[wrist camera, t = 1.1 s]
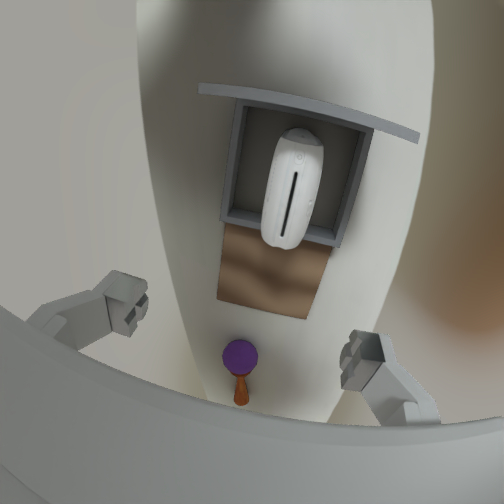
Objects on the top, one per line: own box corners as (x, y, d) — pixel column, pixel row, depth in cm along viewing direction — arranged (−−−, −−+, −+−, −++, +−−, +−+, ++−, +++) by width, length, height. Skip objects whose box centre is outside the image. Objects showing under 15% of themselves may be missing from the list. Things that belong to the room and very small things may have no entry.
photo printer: (284, 123, 30) (274, 132, 19) (321, 131, 29) (332, 145, 19) (268, 204, 35) (251, 254, 24) (302, 212, 35) (300, 265, 24)
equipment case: (243, 91, 28) (198, 82, 15) (369, 119, 27) (420, 133, 15) (225, 211, 36) (182, 278, 23) (336, 236, 35) (351, 315, 22)
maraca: (223, 405, 54) (215, 355, 43) (233, 384, 59) (230, 329, 47) (249, 414, 52) (250, 366, 41) (259, 392, 57) (263, 338, 46)
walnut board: (226, 220, 37) (225, 222, 36) (332, 244, 36) (332, 246, 35) (217, 296, 43) (216, 299, 43) (306, 316, 43) (305, 319, 42)
